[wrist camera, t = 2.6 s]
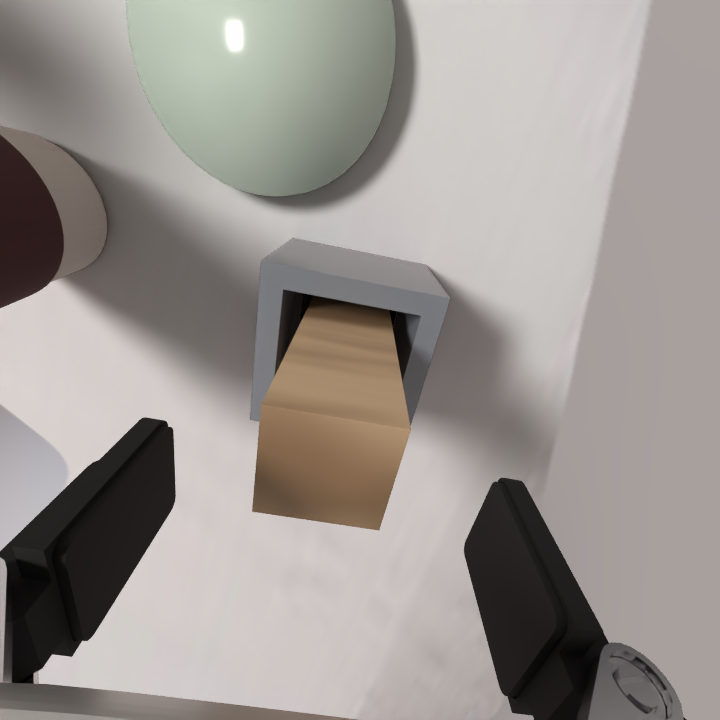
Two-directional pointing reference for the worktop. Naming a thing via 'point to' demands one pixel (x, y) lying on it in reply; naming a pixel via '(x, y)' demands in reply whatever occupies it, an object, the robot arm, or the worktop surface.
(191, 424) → the worktop surface
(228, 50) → the mint green dome
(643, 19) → the worktop surface
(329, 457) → the oak peg
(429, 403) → the worktop surface
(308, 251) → the gray open square box
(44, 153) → the coffee cup
